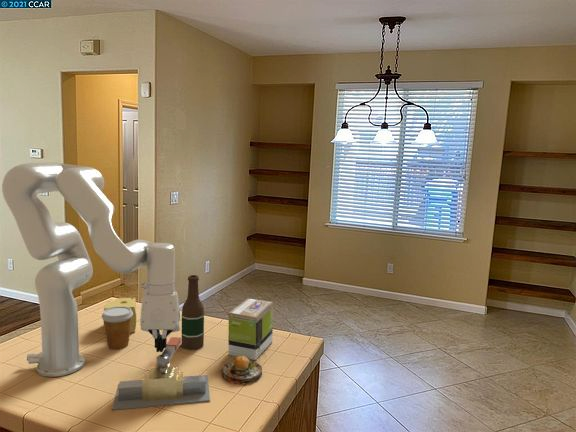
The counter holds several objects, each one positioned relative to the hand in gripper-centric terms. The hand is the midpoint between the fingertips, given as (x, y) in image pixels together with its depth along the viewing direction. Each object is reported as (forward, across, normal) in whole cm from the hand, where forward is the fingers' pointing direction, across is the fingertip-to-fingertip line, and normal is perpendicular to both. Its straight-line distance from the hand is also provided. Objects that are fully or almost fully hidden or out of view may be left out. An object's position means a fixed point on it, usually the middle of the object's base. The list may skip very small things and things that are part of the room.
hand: (160, 349), depth 122 cm
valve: (+8, +3, -9) cm, 12 cm away
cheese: (+9, -22, +34) cm, 41 cm away
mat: (+8, +3, -7) cm, 11 cm away
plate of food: (+9, +23, +3) cm, 25 cm away
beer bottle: (+9, +6, +21) cm, 24 cm away
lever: (0, +3, -3) cm, 4 cm away
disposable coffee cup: (+9, -18, +20) cm, 29 cm away
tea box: (+9, +25, +19) cm, 33 cm away
